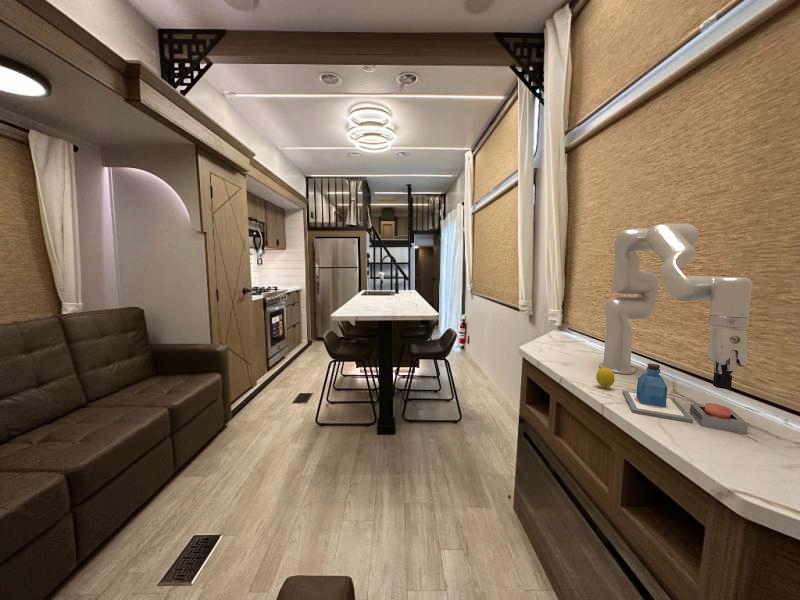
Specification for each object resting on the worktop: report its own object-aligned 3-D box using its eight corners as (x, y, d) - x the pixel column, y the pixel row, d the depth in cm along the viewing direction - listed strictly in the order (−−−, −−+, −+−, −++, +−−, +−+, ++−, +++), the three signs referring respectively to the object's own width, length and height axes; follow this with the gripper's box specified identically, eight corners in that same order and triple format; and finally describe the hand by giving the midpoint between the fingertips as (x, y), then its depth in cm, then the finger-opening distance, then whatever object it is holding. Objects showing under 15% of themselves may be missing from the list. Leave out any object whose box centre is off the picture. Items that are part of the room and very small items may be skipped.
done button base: (689, 412, 94) (690, 403, 94) (730, 419, 90) (731, 409, 90) (701, 426, 86) (702, 415, 86) (746, 434, 82) (748, 423, 82)
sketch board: (622, 392, 109) (622, 389, 109) (673, 400, 103) (674, 397, 103) (632, 412, 94) (632, 408, 94) (693, 423, 88) (693, 419, 88)
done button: (701, 410, 91) (702, 401, 91) (725, 414, 89) (726, 405, 89) (708, 417, 87) (709, 409, 87) (734, 422, 84) (735, 413, 84)
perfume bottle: (640, 403, 98) (643, 366, 97) (636, 396, 103) (639, 361, 102) (665, 407, 95) (669, 369, 94) (660, 400, 100) (663, 363, 99)
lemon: (616, 391, 110) (618, 369, 110) (599, 390, 112) (600, 368, 111) (609, 385, 116) (611, 364, 115) (593, 384, 117) (594, 364, 116)
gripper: (763, 327, 77) (755, 399, 78) (733, 319, 90) (727, 381, 92) (721, 325, 80) (715, 394, 82) (698, 318, 93) (693, 377, 95)
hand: (721, 387), depth 87 cm, fingers closed
